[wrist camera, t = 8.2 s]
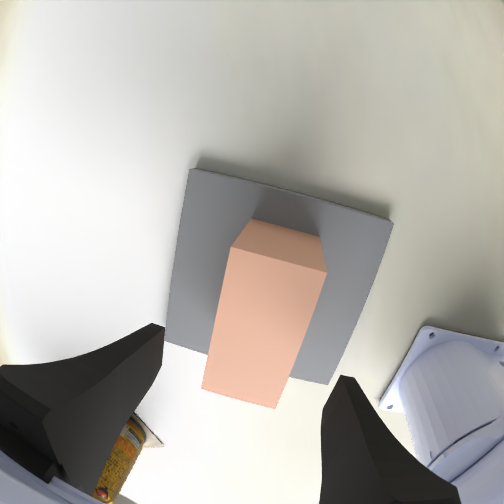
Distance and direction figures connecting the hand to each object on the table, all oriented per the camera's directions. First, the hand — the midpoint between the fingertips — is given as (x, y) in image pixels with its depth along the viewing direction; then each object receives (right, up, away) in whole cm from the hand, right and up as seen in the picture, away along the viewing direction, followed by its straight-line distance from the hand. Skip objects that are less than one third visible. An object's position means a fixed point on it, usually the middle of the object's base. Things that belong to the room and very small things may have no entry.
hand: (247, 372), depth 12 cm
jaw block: (+1, +2, +7) cm, 8 cm away
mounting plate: (+1, +3, +8) cm, 9 cm away
